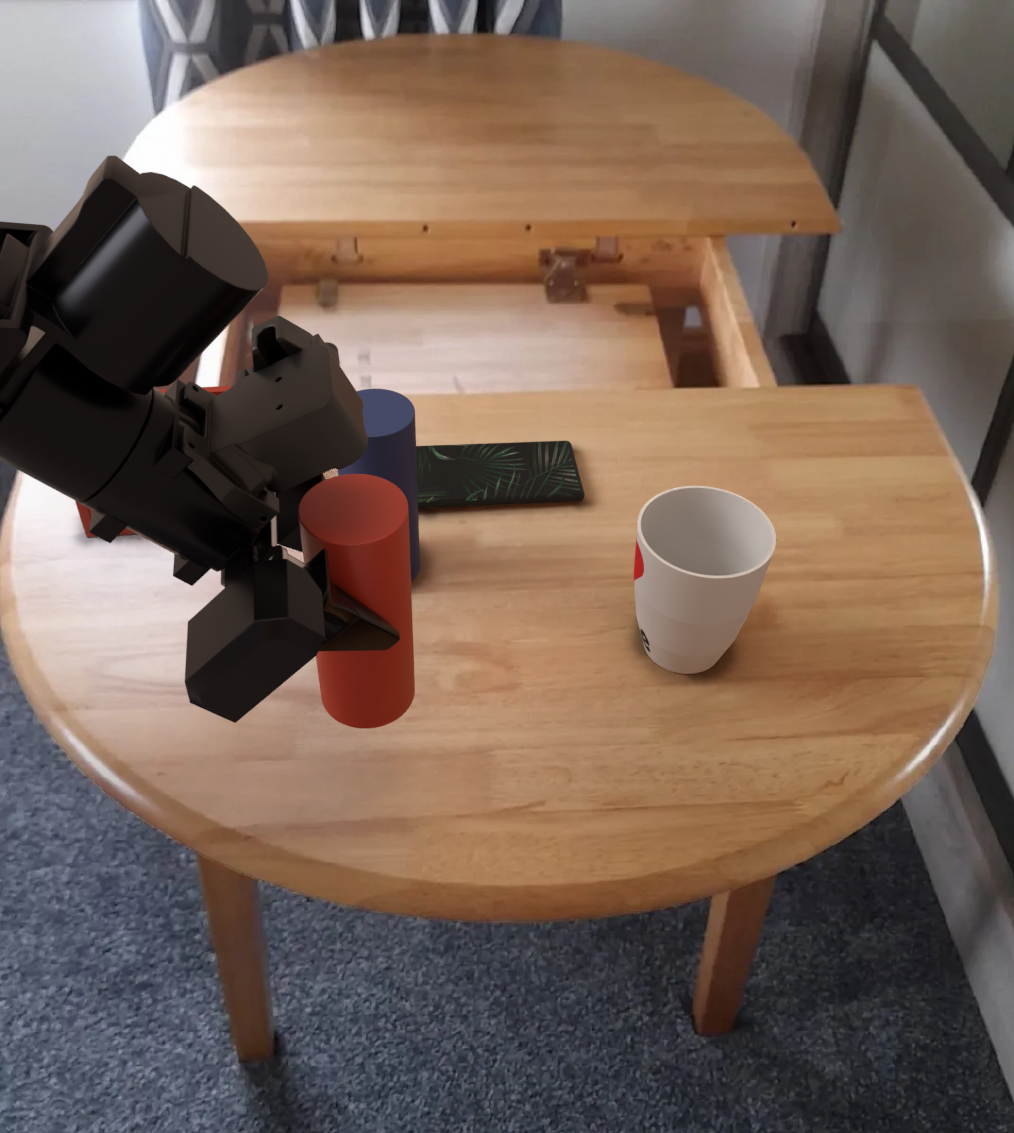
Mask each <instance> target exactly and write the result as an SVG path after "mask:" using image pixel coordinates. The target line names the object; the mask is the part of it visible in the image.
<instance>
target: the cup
mask: <svg viewBox="0 0 1014 1133" xmlns="http://www.w3.org/2000/svg"><path fill="white" fill-rule="evenodd" d="M776 546H777V533H776V530H775V528H774V525H773V523H772V520H770V518H769V516H768V515H767V514H766V513H765V512H764V510H762V509H761V508H760V507H759V506H758V505H756V504H755V503H754V502H752V501H751V500H749V499H747V498H745V497H744V496H742V495H740V494H737V493H735V492H732V491H730V490H727V489H722V488H719V487H713V486H709V485H707V486H706V485H684V486H677V487H674V488H669V489H666V490H663V491H662V492H659V493H658V494H656V495H654V496H653V497H651V498H649V500H648V501H647V502H645V504H643V506H642V507H641V509H640V511H639V513H638V517H637V523H636V537H635V548H634V549H635V550H634V562H633V588H634V589H633V590H634V604H635V616H636V621H637V625H638V629H639V633H640V637H641V641H642V644H643V648H644V650H645V652H646V654H647V656H648V657H649V658H650V660H652V661H653V662H654V664H656V665H657V666H659V667H661V668H663V669H665V670H667V671H669V672H672V673H676V674H683V675H692V674H693V675H694V674H698V673H703V672H705V671H707V670H709V669H711V668H712V667H713V666H715V665H716V663H718V661H719V660H720V658H721V657H722V656H723V655H724V654H725V653H726V651H727V650H728V649H729V648H730V647H731V645H733V643H734V642H735V640H736V639H737V637H738V635H739V633H740V632H741V629H742V627H743V626H744V624H745V623H746V621H747V618H748V616H749V615H750V613H751V611H752V609H753V608H754V605H755V604H756V602H757V599H758V596H759V594H760V591H761V589H762V586H763V583H764V580H765V577H766V575H767V572H768V569H769V566H770V564H771V560H772V558H773V555H774V553H775V549H776Z"/></svg>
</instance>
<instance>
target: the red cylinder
mask: <svg viewBox="0 0 1014 1133" xmlns="http://www.w3.org/2000/svg"><path fill="white" fill-rule="evenodd" d="M298 518H299V526H300V534H301V542H302V550H303V552H302V557H303V563H305V564H306V563H307V562H309V561H310V560H311V559H312V558H313V557H314V556H315V555H316V554H318V553H319V552H320V551H321V550H322V549H323V548H325V549H326V550H327V552H328V561H329V570H330V578H331V581H332V582H333V583H334V584H336V585H337V586H338V587H340V588H341V589H343V590H344V591H345V592H347V593H348V594H350V595H351V596H352V597H354V598H355V599H357V600H358V601H360V602H361V603H362V604H364V605H365V606H367V607H368V608H369V609H371V610H372V611H374V612H375V613H376V614H378V615H379V616H381V617H382V618H383V619H384V620H386V621H387V622H388V623H389V624H390V625H391V626H393V627H394V628H395V629H396V630H397V631H398V632H399V633H400V640H399V641H398V642H397V643H396V644H395V645H393V646H392V647H391V648H390V649H388V650H383V651H318V653H317V656H315V661H316V668H317V675H318V676H317V677H318V682H319V683H318V684H319V691H320V692H319V693H320V700H321V703H322V706H323V708H324V710H325V711H326V712H327V714H328V715H329V717H331V718H332V719H334V720H335V721H337V722H338V723H340V724H342V725H344V726H346V727H350V728H355V729H363V730H364V729H365V730H367V729H376V728H381V727H385V726H387V725H389V724H392V723H394V722H395V721H397V720H399V719H400V718H401V717H402V716H403V715H405V713H406V712H408V710H409V709H410V707H411V705H412V704H413V701H414V700H415V695H416V682H415V655H414V624H413V622H414V621H413V597H412V596H413V595H412V594H413V593H412V582H411V566H410V537H409V509H408V502H407V499H406V497H405V495H404V493H403V492H402V491H401V490H400V489H399V488H398V487H397V486H396V485H394V484H393V483H391V482H389V481H388V480H385V479H383V478H380V477H377V476H372V475H366V474H346V475H340V476H338V475H336V476H331V477H330V478H326V480H324V481H322V482H320V483H318V484H316V485H315V486H314V487H312V488H311V489H310V490H309V491H308V492H307V493H306V494H305V495H304V496H303V498H302V500H301V502H300V504H299V508H298Z"/></svg>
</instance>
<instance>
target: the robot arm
mask: <svg viewBox="0 0 1014 1133" xmlns="http://www.w3.org/2000/svg"><path fill="white" fill-rule="evenodd" d="M268 271H269V270H268V268H267V264H266V262H265V260H264V257H263V255H262V254H261V252H260V250H259V248H258V247H257V245H256V244H255V241H253V239H252V238H251V236H250V235H249V234H248V232H247V230H245V229H244V228H243V226H241V224H240V223H239V222H238V221H237V219H235V218H234V216H233V215H232V214H230V212H229V211H228V210H227V209H226V208H224V207H223V206H222V205H221V204H220V203H219V202H217V201H216V200H215V199H214V198H213V197H212V196H211V195H210V194H208V193H206V191H204V190H202V189H201V188H200V187H199V186H197V185H192V186H191V187H189V186H188V185H186V184H184V183H183V182H181V181H180V180H178V179H175V178H173V177H171V176H168V175H165V174H163V173H160V172H159V173H158V172H153V171H147V172H141V173H139V172H138V171H137V170H136V169H134V167H132V166H130V165H129V164H128V163H126V162H125V161H124V160H122V159H121V158H120V157H119V156H118V155H107V156H106V157H105V158H104V160H103V161H102V162H101V163H100V165H99V166H98V167H97V168H96V169H95V171H94V172H93V173H92V174H91V176H90V177H89V179H88V180H87V183H86V186H85V188H84V190H83V192H82V195H81V197H80V198H79V200H78V201H77V202H76V204H75V205H73V207H72V208H71V210H70V211H69V212H68V214H66V216H65V217H64V218H63V220H62V221H61V222H60V223H59V225H57V227H56V228H55V229H54V230H53V229H52V228H51V227H50V226H47V225H45V224H35V223H24V222H12V221H0V461H1V462H2V463H5V464H6V465H8V466H10V467H12V468H14V469H16V470H18V471H19V472H21V473H23V474H25V475H27V476H29V477H30V478H33V479H34V480H36V481H37V482H40V483H42V484H44V485H46V486H47V487H49V488H51V489H53V490H55V491H56V492H59V493H60V494H62V495H64V496H66V497H67V498H70V499H72V500H73V501H75V500H76V501H77V502H79V503H80V504H82V505H84V506H86V507H88V508H90V509H92V516H91V522H90V529H89V532H90V533H92V534H93V535H95V536H97V537H98V538H99V539H101V540H102V541H105V542H107V543H109V544H111V543H112V542H113V541H114V540H115V539H116V538H117V537H119V536H120V535H119V534H120V533H121V532H122V531H123V530H124V529H125V528H127V529H129V530H131V531H133V532H134V533H136V534H135V535H138V536H140V537H142V538H144V539H145V540H148V541H150V542H151V543H153V544H155V545H157V546H158V547H160V548H163V549H164V550H166V551H168V552H170V553H172V554H173V555H174V556H173V567H172V569H173V570H172V576H173V577H174V578H176V579H177V580H179V581H182V582H184V583H185V584H187V585H189V586H192V587H193V586H194V585H195V584H196V583H197V582H198V581H199V580H200V579H202V577H204V576H205V575H206V574H207V573H209V571H210V570H212V571H215V572H216V573H217V572H220V585H221V586H222V587H224V588H223V589H222V590H221V591H220V592H219V593H218V594H216V595H215V596H214V597H213V598H212V599H211V600H210V601H209V602H208V603H207V604H206V605H204V606H203V607H202V608H201V609H200V610H199V611H198V612H197V613H195V615H193V616H192V617H191V618H190V619H188V621H187V630H186V631H187V632H186V635H187V636H186V648H185V649H186V650H185V651H186V652H185V671H184V684H185V685H184V686H185V689H186V694H187V697H188V700H189V703H190V704H192V705H194V706H196V707H198V708H200V709H202V710H205V711H207V712H210V713H211V714H214V715H216V716H218V717H220V718H223V719H225V720H227V721H230V722H232V723H233V724H236V723H237V722H239V721H240V720H241V719H242V718H243V717H245V716H246V715H247V714H248V713H250V712H251V711H252V710H253V709H254V708H255V707H257V706H258V705H259V704H260V703H262V701H264V700H265V699H266V698H267V697H268V696H270V695H271V694H272V693H273V692H275V691H276V690H277V689H279V688H280V686H282V685H283V684H284V683H286V682H287V681H288V680H289V679H290V678H292V677H293V676H294V675H295V674H296V673H297V672H298V671H300V670H301V669H302V668H303V667H305V666H306V665H307V664H308V663H310V662H311V661H312V660H313V659H314V658H316V656H317V653H318V651H383V650H388V649H390V648H391V647H392V646H393V645H395V644H396V643H397V642H398V641H399V640H400V633H399V632H398V631H397V630H396V629H395V628H394V627H393V626H391V625H390V624H389V623H388V622H387V621H386V620H384V619H383V618H382V617H381V616H379V615H378V614H376V613H375V612H374V611H372V610H371V609H369V608H368V607H367V606H365V605H364V604H362V603H361V602H360V601H358V600H357V599H355V598H354V597H352V596H351V595H350V594H348V593H347V592H345V591H344V590H343V589H341V588H340V587H338V586H337V585H336V584H334V583H333V582H332V581H331V578H330V570H329V561H328V552H327V550H326V549H325V548H323V549H322V550H321V551H320V552H319V553H318V554H316V555H315V556H314V557H313V558H312V559H311V560H310V561H309V562H307V563H306V564H305V563H304V561H302V560H300V559H299V558H297V557H295V556H293V555H291V554H290V553H289V551H288V549H291V550H294V551H297V552H300V553H303V550H302V542H301V534H300V526H299V518H298V508H299V504H300V502H301V500H302V498H303V496H304V495H305V494H306V493H307V492H308V491H309V490H310V489H311V488H312V487H314V486H315V485H316V484H318V483H320V482H322V481H324V480H326V479H327V478H326V477H325V475H324V473H328V472H329V471H332V470H338V469H343V468H345V467H347V466H350V465H351V464H353V463H355V462H356V461H357V460H359V459H360V458H361V457H362V456H363V454H364V453H365V451H366V449H367V446H368V437H367V434H366V431H365V428H364V420H363V412H362V409H363V408H364V406H363V401H362V399H361V397H360V396H359V394H358V393H357V391H358V390H356V388H355V387H354V385H353V384H352V382H351V380H350V379H349V378H348V376H347V375H346V373H345V372H344V370H343V369H342V367H341V362H340V353H339V348H338V346H337V345H335V343H332V342H330V341H329V342H328V341H327V342H326V341H324V340H323V338H322V337H321V335H320V333H316V334H314V335H313V334H311V332H309V331H308V330H306V329H304V328H302V327H300V326H299V325H297V324H295V323H294V322H292V321H290V320H288V319H286V318H285V317H284V316H281V315H275V316H273V317H271V318H269V319H267V320H265V321H263V322H261V323H258V324H256V325H254V326H253V327H252V328H251V358H252V365H251V366H250V367H249V368H248V369H246V368H243V369H241V370H239V371H237V380H236V381H235V382H234V383H233V385H231V386H232V387H231V388H230V389H228V390H226V391H225V392H223V393H221V394H219V395H215V394H213V393H210V392H208V391H206V390H205V389H203V388H202V387H203V386H201V385H198V384H197V383H196V382H194V381H188V382H187V383H185V382H183V381H182V380H180V379H179V378H180V377H181V376H182V375H183V374H184V373H185V372H186V371H187V370H188V369H189V368H190V366H191V365H193V364H194V362H195V361H196V360H197V359H198V358H199V357H200V356H201V355H202V354H203V353H204V352H205V350H207V348H208V347H209V346H210V345H211V344H212V343H213V342H214V341H215V340H216V339H217V338H218V337H219V336H220V335H221V334H222V333H223V332H224V330H226V329H227V327H228V326H229V325H230V324H231V323H232V322H233V321H234V320H236V318H237V317H238V316H239V315H240V314H241V313H242V312H243V311H244V310H245V309H246V308H247V307H248V305H249V304H250V303H251V302H252V301H253V300H254V299H255V298H256V297H257V296H258V295H259V294H260V293H261V292H262V291H263V290H264V289H265V288H266V286H267V284H268V281H269V272H268ZM168 386H169V387H168ZM161 387H168V388H167V389H168V390H167V391H166V392H165V393H163V392H161V391H160V390H159V388H161ZM287 548H288V549H287Z"/></svg>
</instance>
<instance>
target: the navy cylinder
mask: <svg viewBox="0 0 1014 1133" xmlns="http://www.w3.org/2000/svg"><path fill="white" fill-rule="evenodd" d="M356 391H357V393H358V394H359V396H360V397H361V399H362V401H363V406H364V408H363V409H362V412H363V420H364V428H365V431H366V434H367V437H368V446H367V449H366V451H365V453H364V454H363V456H362V457H361V458H360V459H359V460H357V461H356V462H355V463H353V464H351V465H350V466H347V467H345V468H343V469H337V476H340V475H346V474H366V475H372V476H377V477H380V478H383V479H385V480H388V481H389V482H391V483H393V484H394V485H396V486H397V487H398V488H399V489H400V490H401V491H402V492H403V493H404V495H405V497H406V499H407V502H408V509H409V537H410V566H411V583H412V582H413V581H414V580H415V579H416V578H417V576H418V574H419V572H420V569H421V555H420V554H421V553H420V551H421V550H420V522H419V521H420V520H419V519H420V518H419V510H418V487H417V457H416V446H417V430H416V427H417V426H416V409H415V406H414V404H413V402H412V401H411V399H409V398H408V397H407V396H405V395H404V394H402V393H400V392H398V391H395V390H391V389H385V388H365V389H360V390H356Z"/></svg>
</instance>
